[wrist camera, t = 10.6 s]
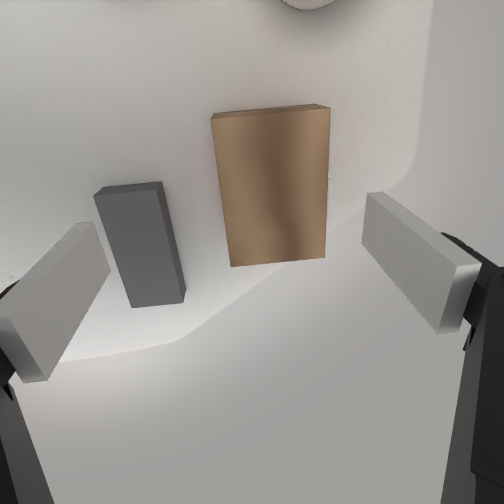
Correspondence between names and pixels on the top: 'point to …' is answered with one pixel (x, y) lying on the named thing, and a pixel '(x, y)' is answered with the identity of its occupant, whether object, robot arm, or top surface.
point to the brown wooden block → (273, 182)
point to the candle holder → (307, 3)
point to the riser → (142, 243)
